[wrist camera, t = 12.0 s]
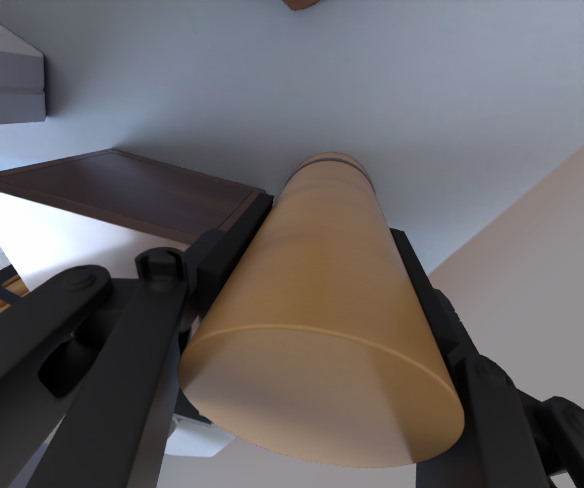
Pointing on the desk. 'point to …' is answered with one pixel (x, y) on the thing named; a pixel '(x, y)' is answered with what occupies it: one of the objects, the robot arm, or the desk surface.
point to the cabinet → (108, 212)
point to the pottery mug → (299, 3)
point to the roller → (324, 335)
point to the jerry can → (20, 80)
